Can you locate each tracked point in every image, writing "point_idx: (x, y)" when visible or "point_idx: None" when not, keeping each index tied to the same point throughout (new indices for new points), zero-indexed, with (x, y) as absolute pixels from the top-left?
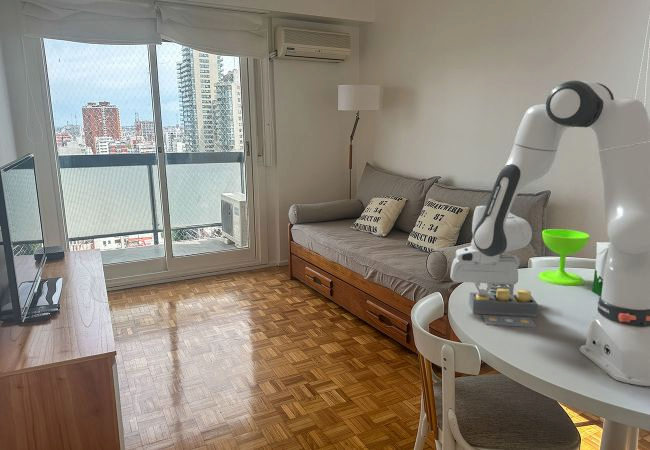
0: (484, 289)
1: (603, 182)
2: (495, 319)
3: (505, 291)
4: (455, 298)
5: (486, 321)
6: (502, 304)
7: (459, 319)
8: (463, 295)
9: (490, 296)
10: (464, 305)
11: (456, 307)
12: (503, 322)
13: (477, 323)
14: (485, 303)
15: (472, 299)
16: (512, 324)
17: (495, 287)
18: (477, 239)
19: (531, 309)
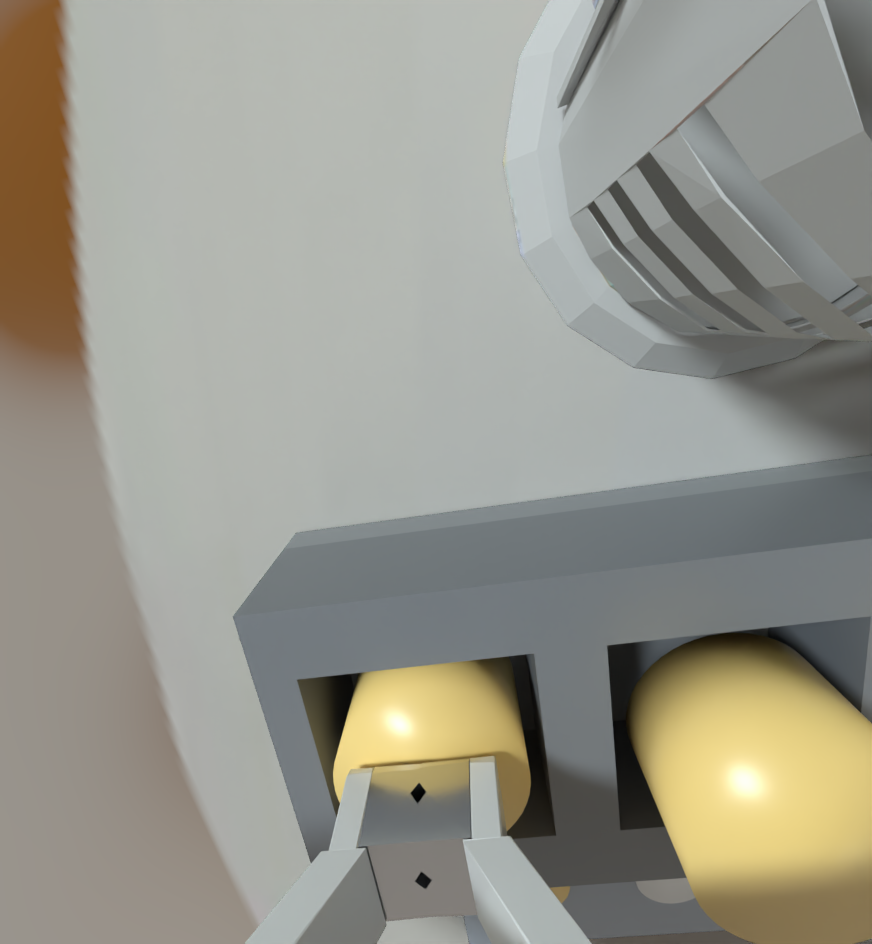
0: (456, 843)
1: None
2: (553, 890)
3: (855, 885)
4: (108, 386)
5: (473, 919)
6: None
7: (257, 892)
8: (183, 218)
9: (554, 708)
10: (252, 589)
11: (182, 663)
12: (616, 911)
13: (402, 926)
14: None
15: (305, 821)
16: (686, 928)
17: (723, 297)
18: None
19: None
